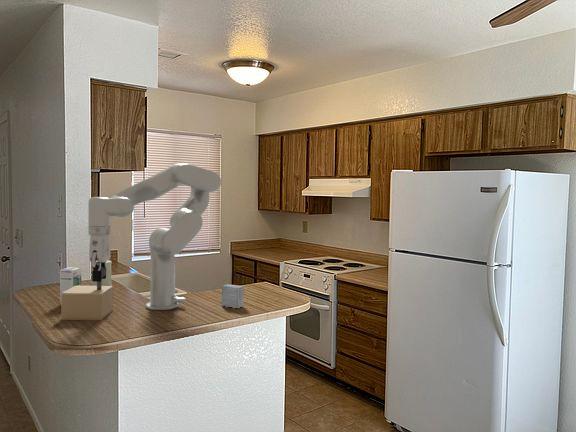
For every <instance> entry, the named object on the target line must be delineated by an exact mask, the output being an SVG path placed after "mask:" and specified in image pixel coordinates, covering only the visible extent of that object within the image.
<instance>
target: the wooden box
mask: <svg viewBox="0 0 576 432" xmlns="http://www.w3.org/2000/svg"><path fill="white" fill-rule="evenodd" d="M113 294H114V287H113V288H112V289H110V290H109V291H107V292H106V293H104V294H103V295H61V303H60V307H61V308H60V309H61V315H60V316H61V320H62V321H65V320H68V321H69V320H70V321H76V320H77V321H102V320H104V319H105V318H106V317H107V316H108V315H109V314H111V313H112V312H113V311H114V310H113V309H114V307H113V305H114V302H113V299H114V295H113Z"/></svg>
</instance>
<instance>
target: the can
mask: <svg viewBox="0 0 576 432" xmlns="http://www.w3.org/2000/svg"><path fill="white" fill-rule="evenodd" d="M96 262H98V261H96ZM90 283H91V285H90V286H97V282H93V281H92V280H91V282H90ZM102 286H113V284H112V260H111V259H109V260H108V261H107V262H106V279H102Z"/></svg>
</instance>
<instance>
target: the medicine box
mask: <svg viewBox="0 0 576 432" xmlns="http://www.w3.org/2000/svg"><path fill="white" fill-rule="evenodd" d="M244 288H245V287H244V286H243V285H238V284H237V285H236V284H228V283H227V284H224V285H222V286H221V307H222V306H225V307H224V308H228V307H233V308H232V309H235V308H240V307H242V306H243V307H244V302H245V300H244V295H245V294H244V293H245V292H244ZM243 307H242V308H243ZM240 309H241V308H240Z"/></svg>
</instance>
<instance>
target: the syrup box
mask: <svg viewBox="0 0 576 432" xmlns="http://www.w3.org/2000/svg"><path fill="white" fill-rule="evenodd" d="M74 286H82V267H78V266H77V267H76V266H72V267H66V268H61V269H59V289H60V292H59V293H60V294H59V295H60V298H59V299H60V302H59V303H60V304H61V293H62V292H64V291H66V290H68V289H70V288H72V287H74Z"/></svg>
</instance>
